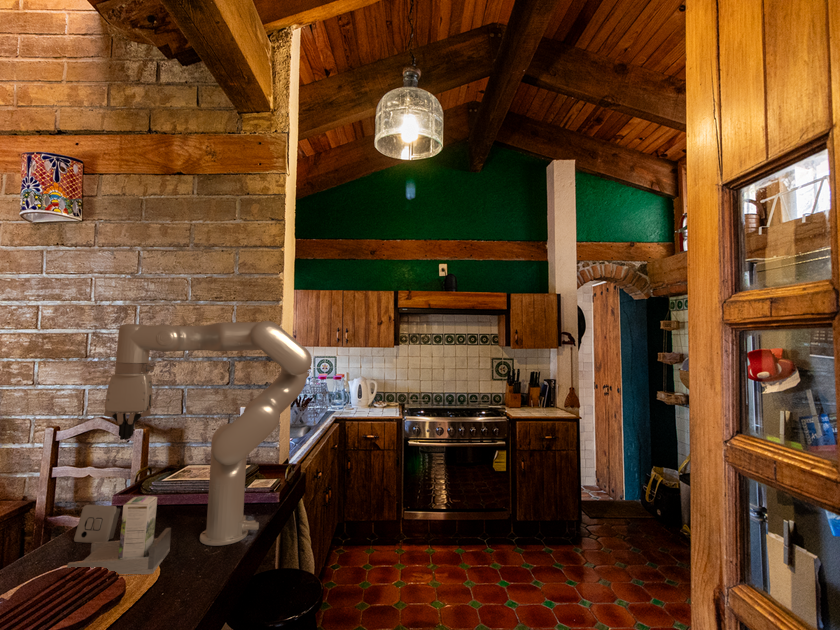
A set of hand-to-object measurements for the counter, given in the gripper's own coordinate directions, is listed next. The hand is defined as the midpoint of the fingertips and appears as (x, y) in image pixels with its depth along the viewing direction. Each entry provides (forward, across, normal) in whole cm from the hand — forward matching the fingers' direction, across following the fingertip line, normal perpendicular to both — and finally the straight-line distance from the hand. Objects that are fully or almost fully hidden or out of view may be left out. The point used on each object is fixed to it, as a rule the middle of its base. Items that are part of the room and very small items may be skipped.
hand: (125, 438), depth 117 cm
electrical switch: (+29, +8, -10) cm, 32 cm away
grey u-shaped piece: (+29, -4, +8) cm, 30 cm away
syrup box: (+28, -8, +8) cm, 30 cm away
